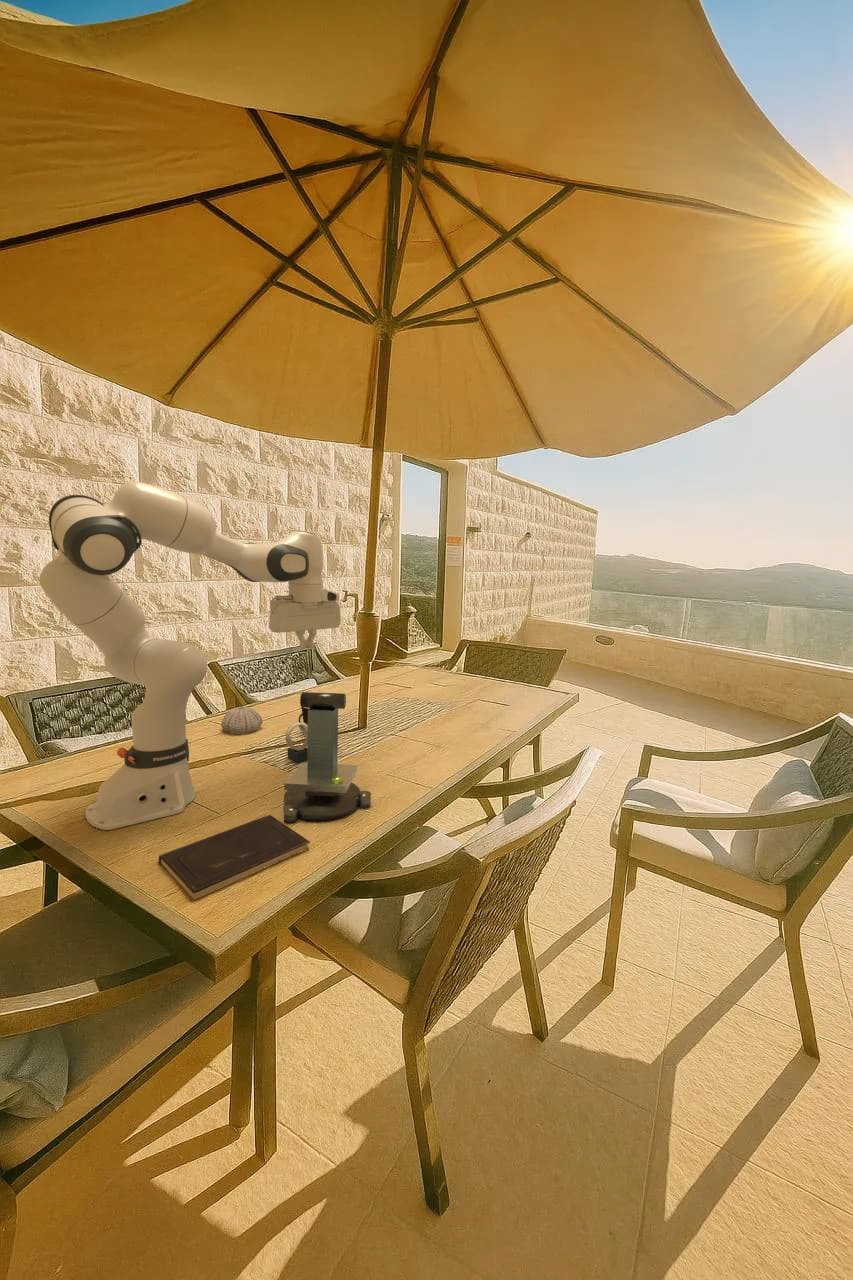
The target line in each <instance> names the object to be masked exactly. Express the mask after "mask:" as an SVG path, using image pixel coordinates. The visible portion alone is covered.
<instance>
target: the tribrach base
mask: <svg viewBox="0 0 853 1280" xmlns="http://www.w3.org/2000/svg"><path fill="white" fill-rule="evenodd" d="M371 805H372V793H371V791H369V790H361V789H360V787H359V786H358V785H356V784H355V783H354V782H353V781H352V782H351V784H350V786H349V788H348V790H347V792H346V793H340V792H317V791H294V790H285V792H284V795H283V824H285V825H293V823H294V824H297V823H298V822H299V821H301V822H306V823H327V822H334V821H337V820H341V819H344V818H346V816H347V817H348V816H350V815H352V814H354V813H355V812H356V811H358V810H359V809H363V810H364V809H369V808H371ZM340 818H341V819H340ZM297 821H298V822H297Z"/></svg>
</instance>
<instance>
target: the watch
mask: <svg viewBox="0 0 853 1280" xmlns="http://www.w3.org/2000/svg"><path fill="white" fill-rule="evenodd" d="M297 727H298V728H299V730H300V732H301V733H302V735H304V737H306V738H305V740H304V742H303V743H302V744H298V745H295V744H294V742H293V740H292V737H291V734H292V732H293V731H294V729H295V728H297ZM285 731H286V732H285V735H284V736H285V739H284V740H285V742H286V743H287V745H288V747H287V759H289V760H290V761H291V762H293V761H294V762H293V763H295V764H298V763H299V764H301V763H306V762H307V757H308V725H307V724H306V723H304V722H303V721H302V722H301V723H300V722H299V721H297V722H292V724H291V725H289V726H288V727H287V729H286V730H285Z"/></svg>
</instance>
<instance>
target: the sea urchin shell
mask: <svg viewBox="0 0 853 1280" xmlns="http://www.w3.org/2000/svg"><path fill="white" fill-rule="evenodd" d="M262 724H263V718H262V716H261V715H260V714H259V712H258V711H257V710H255V709H254V708H252V707H248V706H237V707H233V708H231V709H230V710H228V711H227V713H225V715H224V716H223V718H222V719H221V723H220V726H221V729H223V731H225V732H226V733H228V732H229V733H230V734H234V735H244V734H250V733H254V731H255V732H256V731H257V730H259V729H261V726H262Z"/></svg>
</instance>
